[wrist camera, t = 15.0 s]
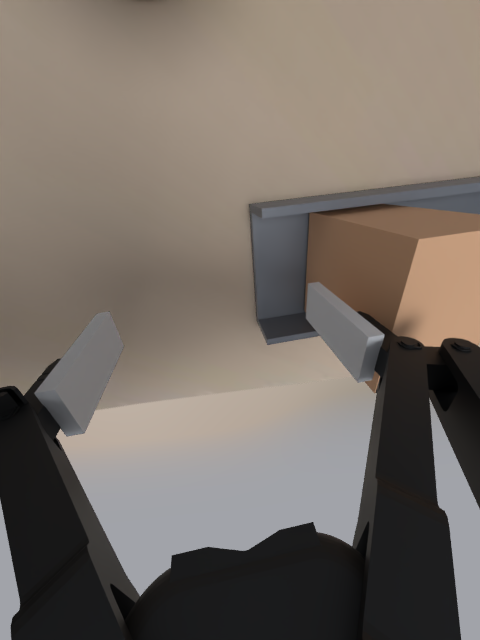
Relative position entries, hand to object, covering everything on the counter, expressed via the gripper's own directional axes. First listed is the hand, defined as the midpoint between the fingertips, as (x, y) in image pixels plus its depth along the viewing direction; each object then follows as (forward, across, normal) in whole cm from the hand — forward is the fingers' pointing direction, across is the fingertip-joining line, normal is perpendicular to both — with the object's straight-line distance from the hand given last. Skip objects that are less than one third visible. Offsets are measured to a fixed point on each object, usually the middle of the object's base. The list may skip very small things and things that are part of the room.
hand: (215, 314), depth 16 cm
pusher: (+6, +12, 0) cm, 13 cm away
